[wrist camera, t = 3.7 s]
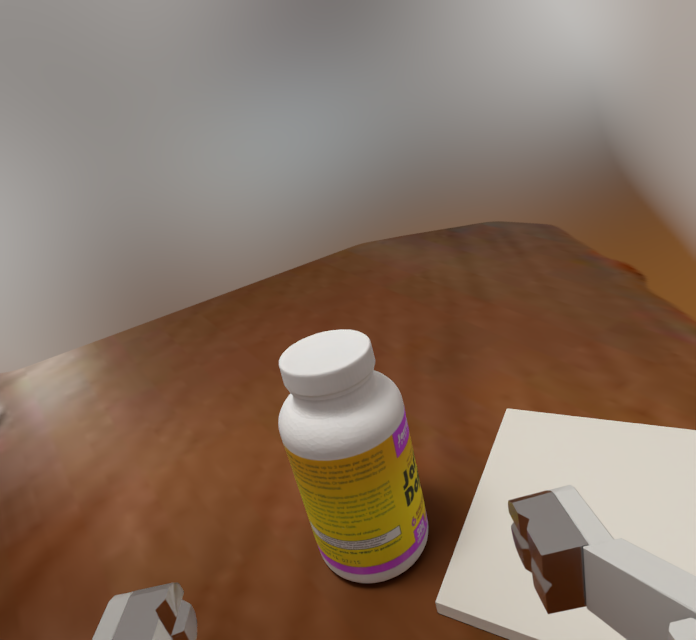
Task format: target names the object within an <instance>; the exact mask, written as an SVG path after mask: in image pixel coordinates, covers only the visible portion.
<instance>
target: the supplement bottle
mask: <svg viewBox="0 0 696 640" xmlns="http://www.w3.org/2000/svg"><path fill="white" fill-rule="evenodd" d="M374 365H375V357H374V354H373V350H372V346H371V342H370V339H369V338H368V337H367V336H366V335H365V334H363V333H361V332H359V331H354V330H332V331H326V332H321V333H318V334H314V335H312V336H309V337H306V338H304V339H302V340H300V341H298V342H296V343H295V344H293V345H292V346H290V347H289V348H288V349H287V350H286V351H285V352H284V353H283V354H282V356H281V357H280V360H279V367H280V371H281V374H282V378H283V382H284V385H285V386H286V388H287V389H288V390H289V392H290V393H291V394H290V395H289V396H288V398H287V399H286V400H285V402H284V404H283V406H282V408H281V411H280V414H279V431H280V435H281V438H282V441H283V444H284V447H285V450H286V453H287V456H288V458H289V461H290V464H291V467H292V470H293V473H294V476H295V479H296V482H297V485H298V488H299V491H300V494H301V497H302V500H303V503H304V506H305V509H306V512H307V515H308V518H309V521H310V524H311V527H312V530H313V533H314V536H315V539H316V542H317V544H318V547H319V550H320V553H321V555H322V557H323V559H324V561H325V563H326V564H327V565H328V566H329V568H330V569H331V570H332V571H334V572H335V573H336V574H337V575H339V576H341V577H342V578H344V579H347V580H350V581H353V582H358V583H377V582H382V581H386V580H389V579H391V578H393V577H396V576H398V575H400V574H401V573H403V572H404V571H406V570H407V569H408V568H410V567H411V566H412V565H413V564H414V563H415V562H416V560H417V559H418V558H419V556H420V555H421V553H422V551H423V550H424V547H425V545H426V542H427V537H428V520H427V514H426V509H425V504H424V499H423V494H422V489H421V485H420V480H419V475H418V470H417V466H416V461H415V456H414V451H413V447H412V442H411V438H410V433H409V428H408V424H407V419H406V414H405V409H404V404H403V400H402V396H401V394H400V391H399V389H398V388H397V386H396V385H395V384H394V383H393V381H392V380H390V379H389V378H388V377H387V376H385V375H383V374H381V373H379V372H377V371H374Z"/></svg>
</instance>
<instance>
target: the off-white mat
mask: <svg viewBox="0 0 696 640" xmlns="http://www.w3.org/2000/svg"><path fill="white" fill-rule="evenodd" d="M567 485H572V486H573V487H575V489H576V490H577V491H578V492H579V494H580V495H581V496H582V498H583V499H584V500H585V502H586V503H587V504H588V506H589V507H590V508H591V509H592V511H593V512H594V513H595V515H596V516H597V517H598V519H599V520H600V521H601V522H602V524H603V525H604V526H605V528H606V529H607V530H608V532H609V533H610V534H611V536H612V537H613V538H614V539H618V538H622V539H624V540H626V541H628V542H630V543H632V544H634V545H636V546H638V547H640V548H642V549H644V550H646V551H647V552H649V553H651V554H653V555H655V556H657V557H659V558H661V559H663V560H665V561H667V562H669V563H671V564H673V565H675V566H677V567H679V568H681V569H683V570H685V571H687V572H688V573H690V574H692V575H694V576H696V430H688V429H680V428H671V427H662V426H654V425H645V424H636V423H628V422H619V421H610V420H602V419H593V418H585V417H576V416H567V415H559V414H550V413H541V412H533V411H524V410H515V409H507V410H506V412H505V415H504V418H503V420H502V423H501V426H500V429H499V431H498V434H497V437H496V439H495V442H494V445H493V447H492V450H491V453H490V456H489V458H488V461H487V464H486V466H485V469H484V472H483V475H482V477H481V480H480V483H479V485H478V488H477V491H476V493H475V496H474V499H473V502H472V504H471V507H470V510H469V512H468V515H467V518H466V521H465V523H464V526H463V529H462V531H461V534H460V537H459V539H458V542H457V545H456V548H455V550H454V553H453V556H452V558H451V561H450V564H449V567H448V569H447V572H446V575H445V577H444V580H443V583H442V585H441V588H440V591H439V594H438V596H437V599H436V602H435V603H436V607H437V612H438V613H440V614H442V615H445V616H448V617H450V618H453V619H456V620H458V621H461V622H464V623H466V624H469V625H472V626H474V627H477V628H480V629H482V630H485V631H488V632H490V633H493V634H496V635H498V636H501V637H504V638H506V639H509V640H627V639H625V638H624V637H623V636H622V635H620V634H619V633H618V632H616V631H615V630H614V629H612V628H611V627H610V626H609V625H607V624H606V623H605V622H603V621H602V620H601V619H600V618H598V617H597V616H596V615H594V614H593V613H592V612H591V611H589V610H588V609H587V606H586V607H581V608H576V609H571V610H566V611H562V612H557V613H552V614H548V613H547V611H546V609H545V607H544V606H543V604H542V602H541V600H540V598H539V596H538V594H537V592H536V590H535V588H534V584H533V577H532V573H531V572H529V571H528V570H526V569H525V568H524V566H523V564H522V561H521V559H520V557H519V555H518V552H517V550H516V547H515V543H514V540H513V536H512V530H511V525H512V524H513V522H514V521H513V520H512V518H511V516H510V514H509V510H508V500H511V499H515V498H519V497H523V496H527V495H531V494H535V493H538V492H542V491H546V490H551V489H555V488H559V487H563V486H567Z"/></svg>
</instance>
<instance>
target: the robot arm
mask: <svg viewBox="0 0 696 640" xmlns="http://www.w3.org/2000/svg"><path fill="white" fill-rule="evenodd" d="M508 510H509V514H510V516H511V518H512V520H513V521H514V522H513V524H512V525H511V530H512V536H513V540H514V543H515V547H516V550H517V552H518V555H519V557H520V559H521V561H522V564H523V566H524V568H525V569H526V570H528V571H529V572H531V573H532V577H533V584H534V588H535V590H536V592H537V594H538V596H539V598H540V600H541V602H542V604H543V606H544V607H545V609H546V611H547V613H548V614H552V613H557V612H562V611H566V610H571V609H576V608H581V607H586V606H587V609H588V610H589V611H591V612H592V613H593V614H594V615H596V616H597V617H598V618H600V619H601V620H602V621H603V622H605V623H606V624H607V625H609V626H610V627H611V628H612V629H614V630H615V631H616V632H618V633H619V634H620V635H622V636H623V637H624V638H625V639H627V640H696V576H694V575H692V574H690V573H688V572H687V571H685V570H683V569H681V568H679V567H677V566H675V565H673V564H671V563H669V562H667V561H665V560H663V559H661V558H659V557H657V556H655V555H653V554H651V553H649V552H647V551H646V550H644V549H642V548H640V547H638V546H636V545H634V544H632V543H630V542H628V541H626V540H624V539H622V538H618V539H614V538H613V537H612V536H611V534H610V533H609V532H608V530H607V529H606V528H605V526H604V525H603V524H602V522H601V521H600V520H599V519H598V517H597V516H596V515H595V513H594V512H593V511H592V509H591V508H590V507H589V506H588V504H587V503H586V502H585V500H584V499H583V498H582V496H581V495H580V494H579V492H578V491H577V490H576V489H575V487H573V486H572V485H567V486H563V487H559V488H555V489H551V490H546V491H542V492H538V493H535V494H531V495H527V496H523V497H519V498H515V499H511V500H508ZM183 593H184V591H183V589H182V588H181V586H180V584H179V583H170V584H165V585H160V586H156V587H151V588H146V589H142V590H137V591H134V592H129V593H125V594H120V595H116V596H114V597H113V598H112V599H111V600H110V601H109V603H108V605H107V607H106V609H105V611H104V614H103V616H102V618H101V620H100V623H99V625H98V627H97V629H96V632H95V634H94V636H93V638H92V640H196V637H197V619H196V615H195V611H194V609H193V607H192V605H191V604H189V603H188V602H186V601H184V600H182V597H183Z"/></svg>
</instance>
